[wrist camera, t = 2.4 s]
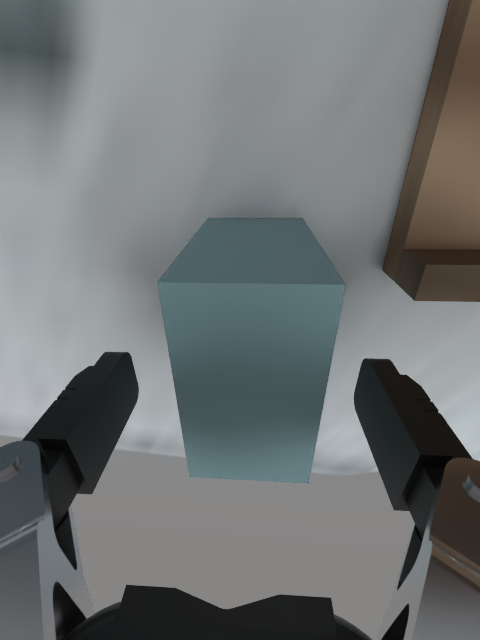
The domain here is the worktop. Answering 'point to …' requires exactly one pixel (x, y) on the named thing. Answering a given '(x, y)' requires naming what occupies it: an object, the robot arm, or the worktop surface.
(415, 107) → the worktop surface
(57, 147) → the worktop surface
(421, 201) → the wall rack
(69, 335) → the worktop surface
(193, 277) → the cabinet block
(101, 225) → the worktop surface
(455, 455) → the robot arm
